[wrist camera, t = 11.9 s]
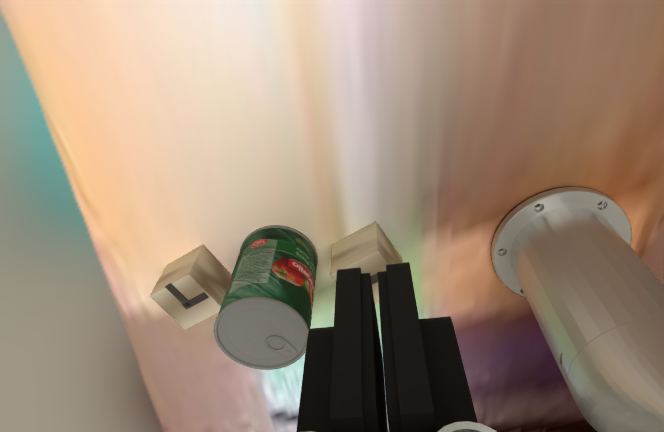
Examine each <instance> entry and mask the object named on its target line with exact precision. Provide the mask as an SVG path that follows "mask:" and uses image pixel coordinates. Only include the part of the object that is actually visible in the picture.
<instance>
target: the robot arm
mask: <svg viewBox="0 0 664 432" xmlns="http://www.w3.org/2000/svg"><path fill="white" fill-rule="evenodd" d="M631 240H632V229H631V225H630V222H629V219H628V217H627V215H626V214H625V212H624V210H623V209H622V208H621V207H620V206H619V205H618V204H617V203H616V202H615V201H614V200H612V199H611V198H610V197H608V196H607V195H605V194H603V193H601V192H599V191H596V190H593V189H588V188H584V187H565V188H556V189H553V190H549V191H545V192H542V193H540V194H538V195H535V196H533V197H531V198H529V199H527V200H526V201H524V202H523V203H521V204H520V205H518V206H517V207H516V208H515V209H514V210H512V211H511V212H510V213H509V214H508V215H507V216H506V218H505V219H504V220H503V221H502V223H501V224H500V226H499V227H498V229H497V231H496V233H495V235H494V239H493V242H492V248H491V257H492V263H493V266H494V268H495V271H496V274H497V275H498V277H499V278H500V280H501V282H502V283H503V284H504V285H505V286H506V287H507V288H508V289H510V290H511V291H513V292H514V293H516V294H518V295H520V296H523V297H526V299H527V301H528V303H529V305H530V307H531V309H532V311H533V314H534V316H535V318H536V320H537V322H538V324H539V326H540V328H541V331H542V333H543V335H544V337H545V339H546V341H547V343H548V345H549V348H550V350H551V352H552V354H553V356H554V358H555V360H556V363H557V365H558V367H559V369H560V371H561V373H562V375H563V377H564V380H565V382H566V384H567V386H568V388H569V390H570V392H571V395H572V397H573V399H574V401H575V403H576V405H577V407H578V408H579V410H580V412H581V413H582V415H583V416H584V417H585V419H586V420H587V421H588V423H589V424H590V425H591V426H592V427H593V428H594V429H595V430H597V431H598V432H664V284H663V283H662V282H661V281H660V280H659V279H658V278H657V276H656V275H655V274H654V273H653V272H652V271H651V270H650V268H649V267H648V266H647V265H646V264H645V263H644V262H643V260H642V259H641V258H640V257H639V256H638V255H637V254H636V252H635V251H634V250H633V249H632V248H631V247H630V244H631ZM377 275H378V290H379V304H380V319H381V334H382V348H383V359H382V352H381V345H380V338H379V331H378V324H377V317H376V310H375V303H374V296H373V289H372V282H371V275H370V273H361V268H360V267H358V268H349V269H339V270H337V277H336V297H335V317H334V327H326V328H314V329H310V330H309V332H308V337H307V346H306V354H305V363H304V372H303V381H302V389H301V398H300V407H299V416H298V424H297V432H388V430H387V415H388V424H389V431H390V432H496V431H495V430H493V429H491V428H489V427H487V426H485V425H483V424H480V423H478V422H477V418H476V414H475V411H474V407H473V403H472V399H471V395H470V391H469V387H468V383H467V379H466V375H465V371H464V367H463V363H462V359H461V355H460V351H459V347H458V343H457V339H456V335H455V331H454V327H453V323H452V320H451V318H450V317H440V318H429V319H419V318H418V312H417V306H416V300H415V294H414V288H413V282H412V276H411V270H410V264H409V262H408V263H398V264H388V265H386V271H381V272H377ZM383 363H384V370H383ZM384 378H385V385H384ZM385 392H386V400H385ZM386 405H387V415H386Z"/></svg>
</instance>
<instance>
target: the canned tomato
mask: <svg viewBox="0 0 664 432" xmlns="http://www.w3.org/2000/svg"><path fill="white" fill-rule="evenodd" d="M317 263H318V262H317V253H316V250H315V248H314V246H313V244H312V243H311V242H310V240H309V239H308V238H307V237H306V236H304V235H303V234H302V233H300V232H298V231H297V230H295V229H292V228H289V227H285V226H266V227H263V228H260V229H257V230H256V231H254V232H252V233H251V234H250V235H249V236H248V237H247V238H246V239H245V241H244V242H243V244H242V247H241V249H240V254H239V256H238V259H237V262H236V265H235V268H234V271H233V273H232V276H231V279H230V282H229V285H228V288H227V291H226V294H225V296H224V299H223V302H222V305H221V308H220V311H219V315H218V316H217V318H216V321H215V324H214V335H215V339H216V341H217V344H218V346H219V347H220V348H221V350H222V351H223V352H224V353H225V354H226V355H227V356H228V357H230V358H231V359H233V360H234V361H236V362H238V363H240V364H242V365H244V366H247V367H251V368H255V369H265V370H271V369H279V368H282V367H286V366H288V365H290V364H293V363H294V362H296V361H297V360H299V359H300V358H301V357H302V356H303V354H304V353H305V352H306V346H307V337H308V332H309V330H310V326H311V315H312V307H313V296H314V286H315V279H316V268H317Z"/></svg>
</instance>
